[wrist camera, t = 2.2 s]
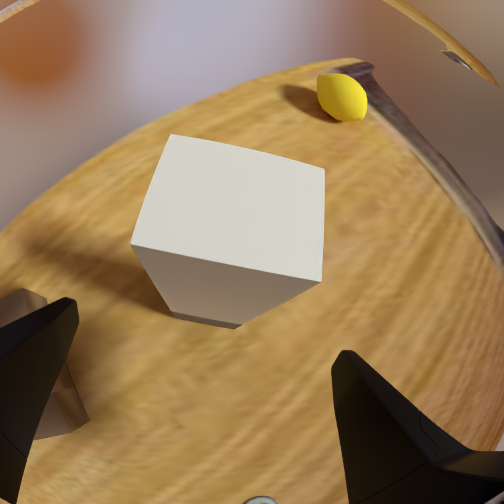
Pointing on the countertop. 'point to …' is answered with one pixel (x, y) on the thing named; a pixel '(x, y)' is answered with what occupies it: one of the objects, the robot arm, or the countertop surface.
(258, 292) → the rail post
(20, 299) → the post base
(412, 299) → the countertop surface
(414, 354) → the countertop surface
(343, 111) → the lemon
